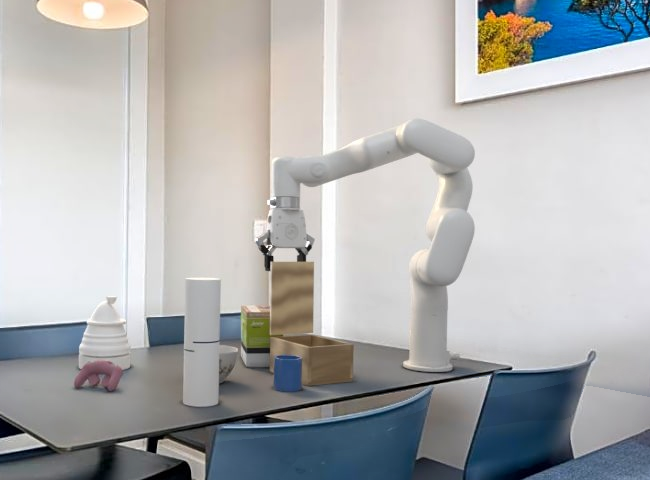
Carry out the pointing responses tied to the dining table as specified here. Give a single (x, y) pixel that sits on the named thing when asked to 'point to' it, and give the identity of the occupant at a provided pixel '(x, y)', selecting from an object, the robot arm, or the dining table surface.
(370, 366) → the dining table surface
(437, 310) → the robot arm
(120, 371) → the video game controller
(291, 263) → the lid
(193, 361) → the cylindrical container
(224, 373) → the teacup
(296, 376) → the cup
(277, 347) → the wooden box
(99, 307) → the honey pot
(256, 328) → the tea box
